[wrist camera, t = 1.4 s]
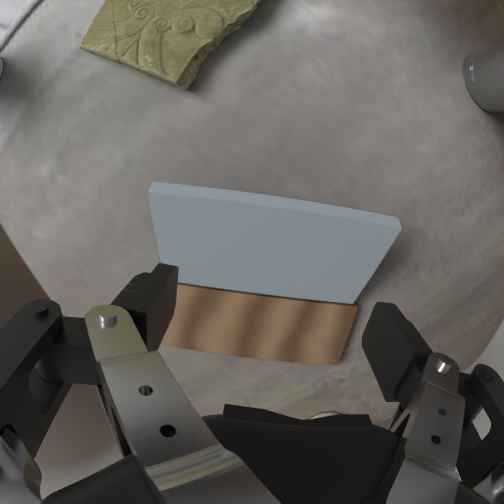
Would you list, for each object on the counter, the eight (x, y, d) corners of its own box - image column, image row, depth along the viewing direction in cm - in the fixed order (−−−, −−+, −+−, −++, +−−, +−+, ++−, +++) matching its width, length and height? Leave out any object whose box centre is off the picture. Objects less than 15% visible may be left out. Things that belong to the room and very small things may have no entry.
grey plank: (398, 217, 27) (401, 228, 26) (351, 294, 38) (352, 303, 37) (153, 181, 27) (147, 191, 26) (168, 270, 37) (165, 280, 36)
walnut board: (356, 296, 38) (359, 301, 37) (335, 358, 42) (337, 364, 41) (161, 271, 38) (158, 275, 36) (162, 337, 42) (159, 343, 40)
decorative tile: (84, 50, 28) (71, 45, 25) (167, -55, 22) (161, -67, 19) (195, 100, 31) (188, 96, 28) (284, -17, 25) (286, -31, 22)
